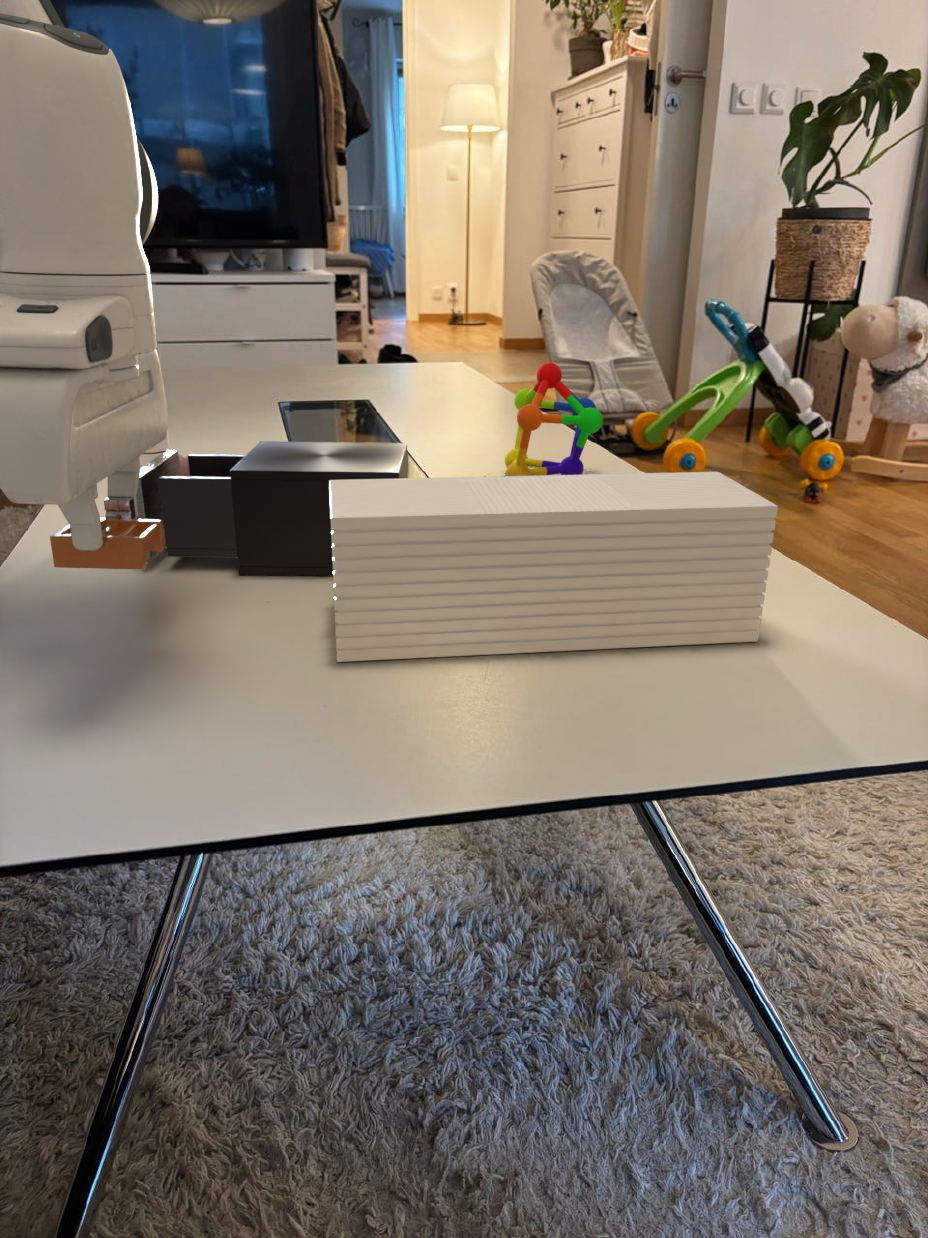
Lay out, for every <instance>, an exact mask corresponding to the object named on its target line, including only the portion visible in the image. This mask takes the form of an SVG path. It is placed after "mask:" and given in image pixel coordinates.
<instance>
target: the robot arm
mask: <svg viewBox="0 0 928 1238" xmlns="http://www.w3.org/2000/svg"><path fill="white" fill-rule="evenodd" d="M158 192H159V191H158V185H157V179H156V176H155V172H154V169H153V165H152V163H151V161H150V158H149V156H148V154H147V152H146V150H145V148H144V146H143V144H142V143H141V142H140V140H139V138H138V137H137V135H136V127H135V123H134V116H133V111H132V107H131V101H130V97H129V94H128V89H127V85H126V82H125V79H124V76H123V72H122V69H121V67H120V64H119V63H118V60H117V57H116V56H115V54H114V52H113V51H112V49H111V48H110V47H109V46H107V45H106V44H105V43H103V41H101V40H100V38H98V37H96V36H95V35H92V34H90V33H87V32H84V31H80V30H75V29H72V28H68V27H65V25H64V23H63V22H62V19H61V17H60V16H59V15H58V12H57V11H56V9H55V7H54V5H53V3H52V2H51V0H0V490H1V491H2V493H3V494H4V495H5V497H6V499H8V500H9V501H10V502H11V503H14V504H20V505H21V504H23V505H53V506H54V505H57V506H58V508H59V509H60V511H61V513H62V515H63V516H64V518H65V521H66V522H67V524H68V525H69V524H70V529H71V533H70V534H71V536H72V543H73V546H74V547H75V548H76V549H78V550H89V551H95V550H98V549H99V548H100V547H102V546H103V545H104V544H105V543H106V542H107V540H108V534H107V525H106V518H118V519H135V518H136V517H137V515H138V509H137V500H136V494H137V489H138V482H139V476H140V469H141V468H140V458H139V456H140V455H141V454H143V453H144V452H146V451H148V450H149V449H151V448H152V447H154V446H155V445H157V444H158V443H160V442H161V441H163V440H164V439H165V438H166V436H167V430H168V429H169V414H168V404H167V397H166V391H165V385H164V379H163V378H164V377H163V371H162V365H161V361H160V357H159V353H158V350H157V349H158V341H157V333H156V332H157V331H156V330H157V329H156V321H155V320H156V319H155V311H154V310H155V308H154V300H153V290H152V289H153V288H152V278H151V277H152V276H151V269H150V265H149V261H148V258H147V256H146V254H145V251H144V248H143V245H144V244H145V243H146V241H147V240H148V237H149V236H150V233H151V231H152V229H153V227H154V224H155V221H156V217H157V213H158V205H159V193H158ZM168 431H169V430H168ZM106 478H107V497H106V498H104V499H103V505H104V510H105V517H101V515H100V512H99V509H98V506H97V503H96V500H97V499H98V497H99V492H98V485H97V484H98V483H100V482H101V481H103V480H104V479H106Z"/></svg>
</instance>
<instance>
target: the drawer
mask: <svg viewBox="0 0 928 1238" xmlns="http://www.w3.org/2000/svg"><path fill="white" fill-rule="evenodd" d="M179 455H180V454H179V450H175V449H173V450H172V449H169V450H166V451H165V452H163V453H162V454H160V455H159V456H157V457H156V458H155V459H153V460H152V461H150V462H149V463H147V464H146V465H144V466H143V467H142V468H141V469H140V476H139V482H138V489H137V494H136V500H137V509H138V515H137V517H136V518H135V519H153V520H161V521H162V530H163V540H164V549H165V548H166V556H167V557H168V558H233V559H235V558H237V548H236V536H235V524H234V513H233V501H232V489H231V478H230V470H231V469H232V468H233V467H234V466H235V465H236V464H237V463H238V462H239V461H240V460H241V459H242V458H243V457H244V456H245V455H246V454H208V453H207V454H205V453H190V454H189V455H187V456H188V464H189V473H190V477H184V476H181V473H180V464H179ZM160 553H161V552H160V551H145V558H146V563H151V562H152V561H153V560H155V558H157V556H158V555H159V554H160Z"/></svg>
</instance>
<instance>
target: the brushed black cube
mask: <svg viewBox="0 0 928 1238" xmlns="http://www.w3.org/2000/svg"><path fill="white" fill-rule="evenodd" d="M244 455H245V456H244V457H243V458H242V459H241V460H240V461H239V462H238V463H237V464H236V465H235V466H234V467H233V468H232V469H231V470H230V478H231V489H232V501H233V513H234V524H235V536H236V548H237V570H238V575H239V576H288V577H289V576H292V577H293V576H295V577H297V576H298V577H301V576H304V577H333V561H332V538H331V514H330V490H329V480H352V479H399V478H408V443H407V442H351V441H350V442H349V441H346V442H345V441H344V442H342V441H278V440H277V441H275V440H274V441H272V440H271V441H270V440H269V441H267V440H266V441H264V440H260V441H259V442H258V443H256V444H255V446H253V447H252V448H251V449H250V450H249V451H248V452H247V453H246V454H244Z"/></svg>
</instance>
